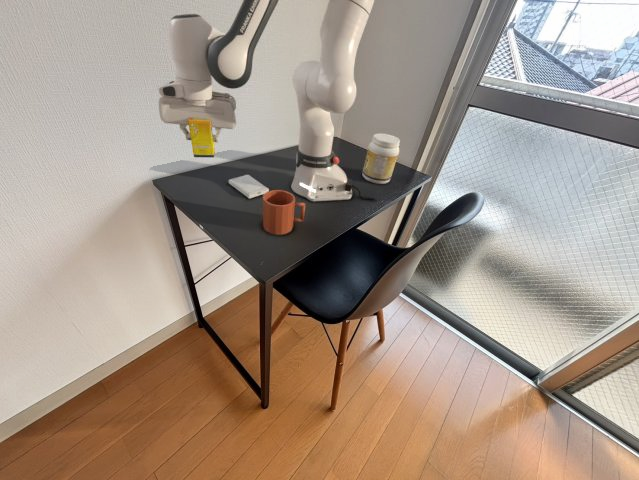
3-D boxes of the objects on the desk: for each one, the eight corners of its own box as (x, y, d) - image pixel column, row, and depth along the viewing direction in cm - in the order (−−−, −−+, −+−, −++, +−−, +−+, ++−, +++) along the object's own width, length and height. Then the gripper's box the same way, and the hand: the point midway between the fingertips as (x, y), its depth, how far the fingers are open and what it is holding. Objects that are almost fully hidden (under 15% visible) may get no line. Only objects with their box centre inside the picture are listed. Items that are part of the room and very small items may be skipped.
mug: (262, 234, 76) (262, 205, 70) (263, 217, 82) (263, 189, 77) (304, 235, 78) (307, 207, 72) (302, 218, 84) (304, 191, 79)
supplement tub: (362, 169, 120) (371, 130, 109) (389, 174, 119) (401, 135, 109) (360, 181, 110) (370, 139, 100) (390, 187, 109) (403, 145, 99)
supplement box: (194, 150, 87) (189, 113, 80) (214, 150, 88) (210, 114, 82) (193, 157, 82) (187, 119, 75) (214, 157, 84) (210, 120, 77)
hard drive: (228, 179, 95) (248, 194, 88) (248, 174, 100) (269, 188, 93) (228, 183, 96) (248, 199, 89) (248, 178, 101) (269, 192, 94)
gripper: (236, 91, 78) (239, 139, 87) (159, 83, 75) (170, 134, 83) (233, 96, 74) (236, 147, 82) (151, 87, 70) (163, 141, 78)
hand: (202, 140), depth 83 cm, fingers closed on supplement box, 6 cm apart
